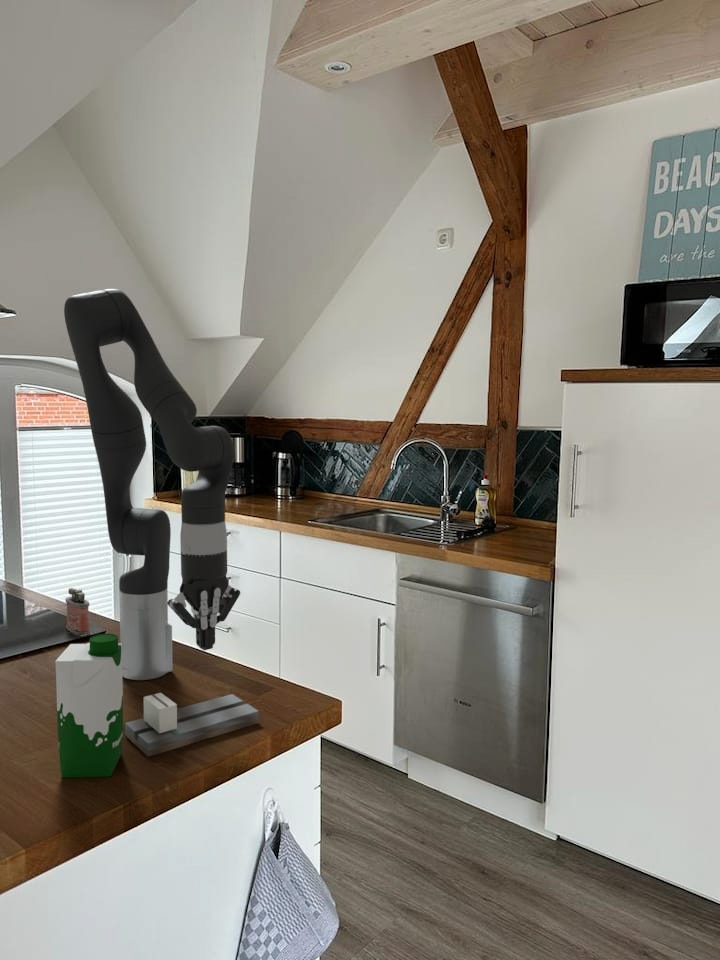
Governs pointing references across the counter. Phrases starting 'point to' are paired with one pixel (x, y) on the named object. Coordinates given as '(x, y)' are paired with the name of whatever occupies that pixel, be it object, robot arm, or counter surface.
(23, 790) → the counter surface
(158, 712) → the slider knob
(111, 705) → the milk carton
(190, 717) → the slider panel
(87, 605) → the lighter
